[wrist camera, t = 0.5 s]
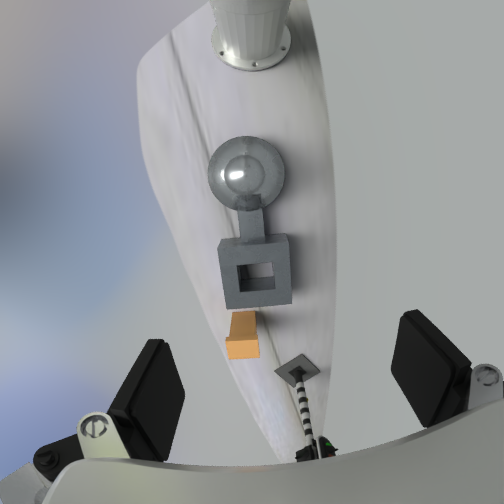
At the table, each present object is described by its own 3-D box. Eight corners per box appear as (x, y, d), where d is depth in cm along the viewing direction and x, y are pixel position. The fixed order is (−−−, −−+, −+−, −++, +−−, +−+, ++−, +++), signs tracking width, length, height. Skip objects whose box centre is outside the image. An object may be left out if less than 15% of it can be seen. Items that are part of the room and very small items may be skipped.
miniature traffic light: (322, 369, 52) (356, 493, 23) (293, 386, 54) (311, 508, 25) (302, 350, 50) (332, 487, 22) (272, 369, 52) (282, 502, 23)
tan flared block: (230, 311, 48) (225, 341, 39) (256, 309, 47) (257, 339, 39) (232, 327, 49) (228, 359, 40) (258, 325, 48) (259, 357, 40)
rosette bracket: (207, 142, 39) (193, 136, 29) (278, 135, 38) (286, 125, 29) (227, 295, 47) (220, 327, 37) (290, 289, 46) (299, 320, 37)
